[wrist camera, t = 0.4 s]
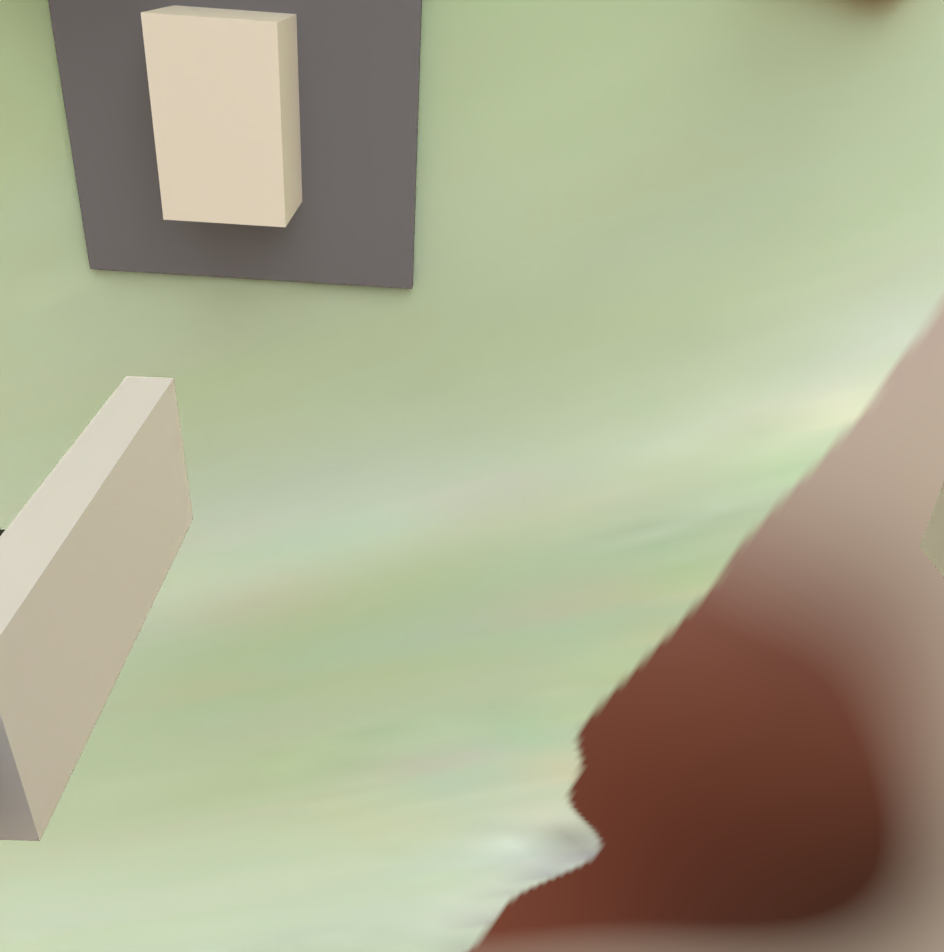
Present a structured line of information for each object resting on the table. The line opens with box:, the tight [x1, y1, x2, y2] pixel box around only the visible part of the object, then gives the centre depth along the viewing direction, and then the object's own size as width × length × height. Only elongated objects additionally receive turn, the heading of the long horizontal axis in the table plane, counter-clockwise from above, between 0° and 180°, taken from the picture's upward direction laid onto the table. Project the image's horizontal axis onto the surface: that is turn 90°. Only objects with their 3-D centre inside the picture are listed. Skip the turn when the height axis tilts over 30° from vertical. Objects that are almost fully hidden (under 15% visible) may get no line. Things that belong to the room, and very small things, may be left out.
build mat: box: [48, 0, 422, 289], centre depth 34 cm, size 14×14×4 cm
